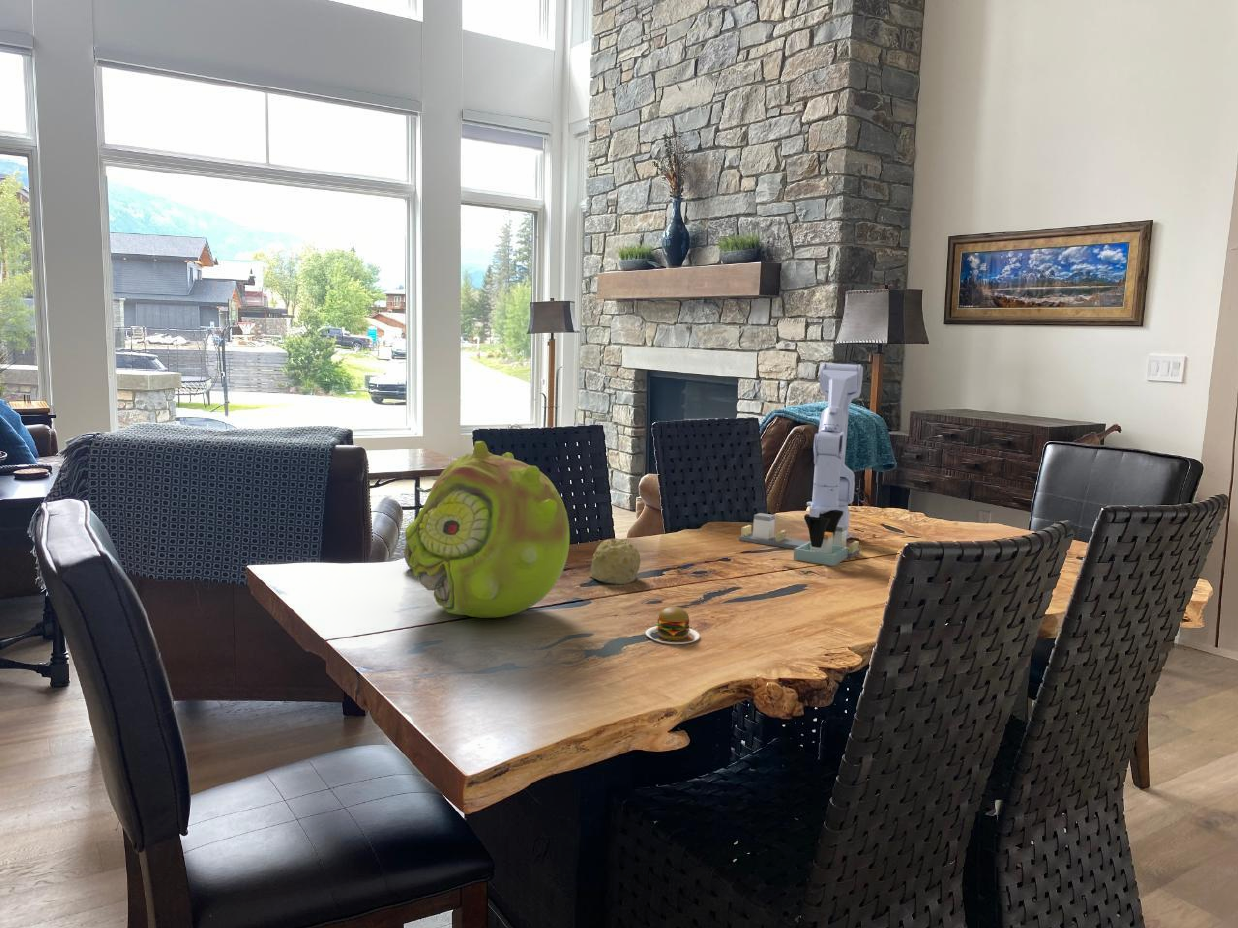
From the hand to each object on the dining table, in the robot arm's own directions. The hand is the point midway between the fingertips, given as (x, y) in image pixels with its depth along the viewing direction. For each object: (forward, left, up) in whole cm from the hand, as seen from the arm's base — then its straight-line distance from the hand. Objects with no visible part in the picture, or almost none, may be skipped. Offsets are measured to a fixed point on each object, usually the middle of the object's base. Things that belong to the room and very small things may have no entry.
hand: (821, 544), depth 216 cm
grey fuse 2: (-8, 0, -2) cm, 9 cm away
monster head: (+81, -32, -4) cm, 87 cm away
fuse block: (-8, -8, -3) cm, 12 cm away
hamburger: (+71, -1, -4) cm, 72 cm away
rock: (+46, -28, -4) cm, 53 cm away
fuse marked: (0, 0, -3) cm, 3 cm away
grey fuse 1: (-8, -18, -2) cm, 20 cm away
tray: (0, 0, -3) cm, 3 cm away
